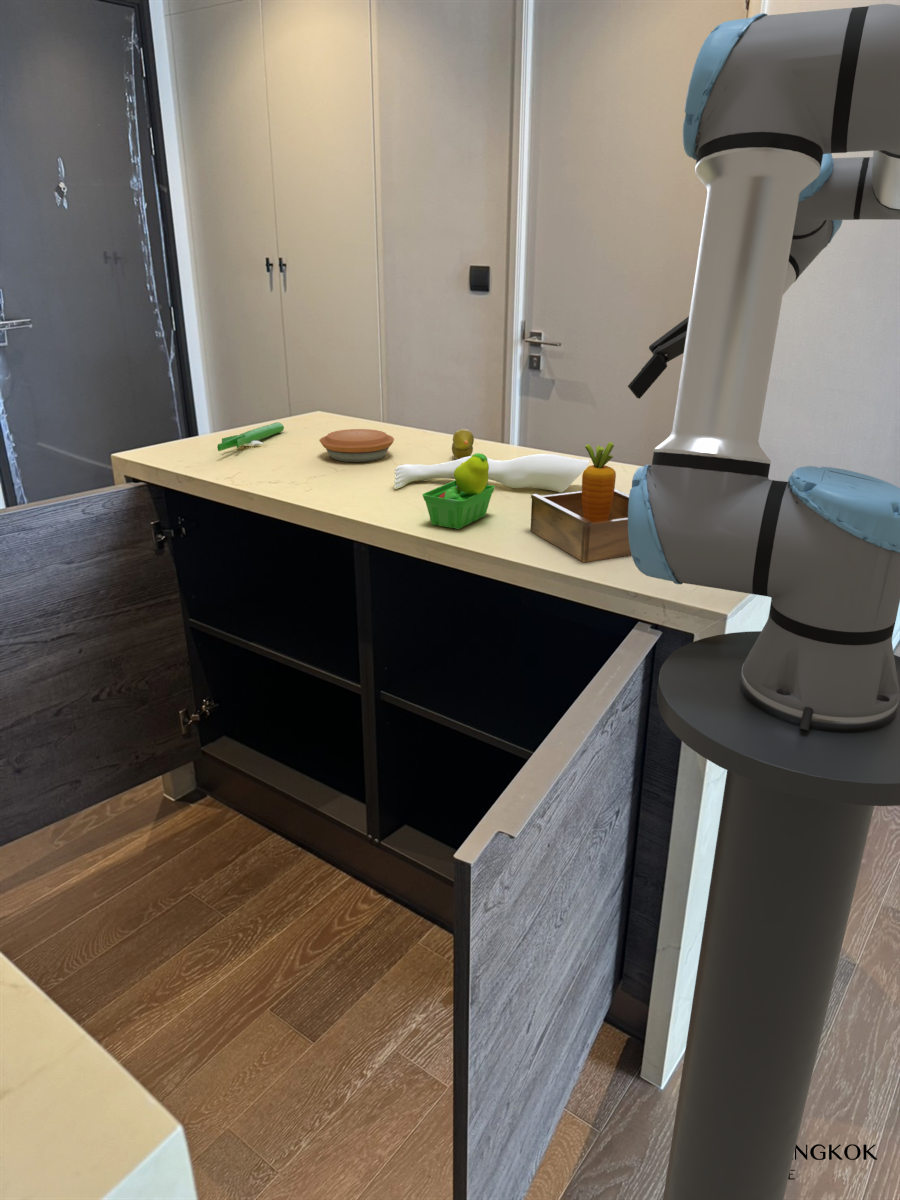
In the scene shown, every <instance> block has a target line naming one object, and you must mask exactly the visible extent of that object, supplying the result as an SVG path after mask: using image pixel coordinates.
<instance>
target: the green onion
mask: <svg viewBox="0 0 900 1200" xmlns="http://www.w3.org/2000/svg"><path fill="white" fill-rule="evenodd" d="M284 429H285V426H284V424H283V423H281V422H274V423H273V422H272V423H271V424H266V425H263V426H260V427H256V428H253V429H249V430H247V431H245V432H243V433H240V434H236V435H232V436H227V437H221V442H219V443H218V444H217V451H218V452H222V451H224V450H228V449H231V448H235V447H236V449H239V448H240V447H251V448H252V447H254V446H255V445H260V444H261V445H263V444H264V443H263V441H260V440H263V439H266V438H268V437H269V438H270V437H271V436H273V435H276V434H279V433H282V432H283V431H284Z"/></svg>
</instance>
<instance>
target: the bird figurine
mask: <svg viewBox="0 0 900 1200" xmlns="http://www.w3.org/2000/svg"><path fill="white" fill-rule="evenodd" d="M474 442H475V438H474V435H473V433H472V431H471V430H469V429H467V428H461V429H458V430H456V431H455V432H454V433H453V436H452V445H451V452H452V455H453V456H454V457H455V458H456V459H457V460H458V459H460V458H464V457H468V456H472V455H473V451H474V446H473V445H474Z"/></svg>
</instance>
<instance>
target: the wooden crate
mask: <svg viewBox="0 0 900 1200" xmlns="http://www.w3.org/2000/svg"><path fill="white" fill-rule="evenodd" d="M530 498H531V508H530V509H531V510H530V511H531V512H530V532H531V533H533V534H535V535H537V536H538V537H540V538H541V539H543V540H545V541H547V542H548V543H550V544H552V545H554V546H555V547H557V548H559V549H560V550H562V551H564V552H566V553H567V554H568V555H570V556H572V557H574V558H575V559H577V560H578V561H581V563H589V562H595V561H601V560H607V559H608V560H609V559H615V558H619V557H626V556H632V555H631V550H630V545H629V536H628V503H629V493H626V492H623V491H622V490H619V489H616V488H615V489H614V496H613V502H612V506H611V511H610V514H609V517H608V520H607V521H600V522H591V521H589V520H587V519H585V518H584V515H583V508H582V490H577V491H571V492H562V493H554V494H546V495H539V494H538V493H532V494H530Z"/></svg>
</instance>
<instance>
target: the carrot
mask: <svg viewBox="0 0 900 1200" xmlns="http://www.w3.org/2000/svg"><path fill="white" fill-rule="evenodd" d="M614 447H615V445H614V443H613V441H612V442H611V441H609V442H607V445H606V446H605V447H603V446H601V445H597V446H596V447H595V452H594V449H593V447H592V446H591V444H589V443H587V444H586V445H584V448H585V450H586V451H587V453H588V455H589V458H590V459H591V462H592V465H589V466H588V465H587V467H586V468H585V469H584V470H583V472H582V476H581V491H582V508H583V515H584V518H585V519H587V520H589V521H591V522H600V521H607V520H608V517H609V514H610V511H611V506H612V502H613V496H614V489H616V488H615V487H616V480H617V479H616V478H617V473H616V470H615V468H612V467H611V466H608V465H607V463H609V462H610V461H611V460H613V458H614V456H613V454H611V453H612V451H613V449H614ZM610 454H611V455H610Z"/></svg>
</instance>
